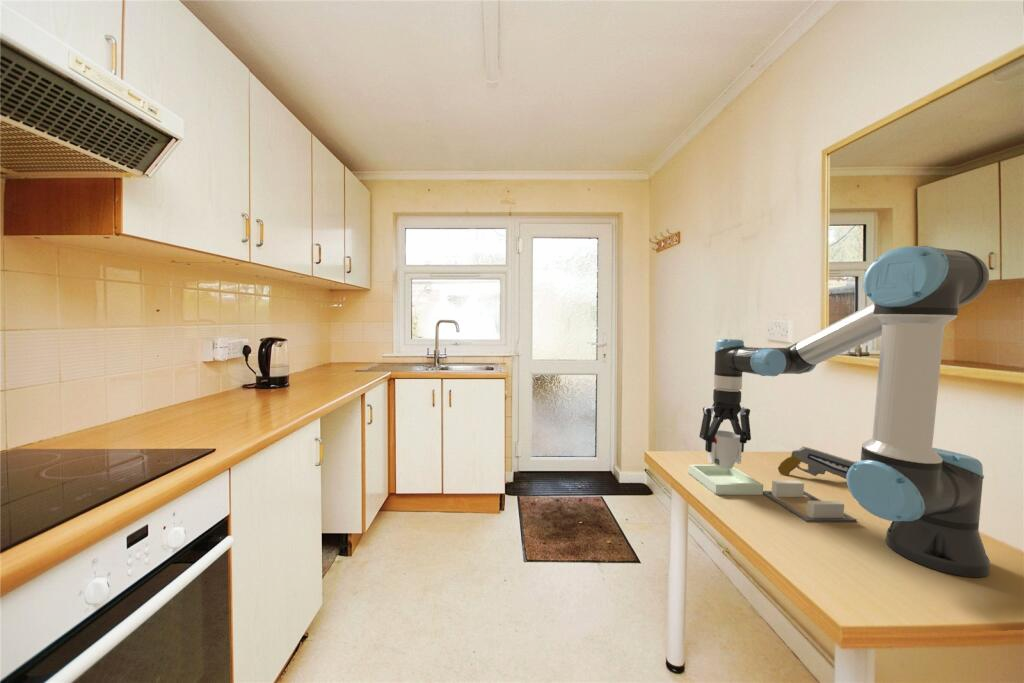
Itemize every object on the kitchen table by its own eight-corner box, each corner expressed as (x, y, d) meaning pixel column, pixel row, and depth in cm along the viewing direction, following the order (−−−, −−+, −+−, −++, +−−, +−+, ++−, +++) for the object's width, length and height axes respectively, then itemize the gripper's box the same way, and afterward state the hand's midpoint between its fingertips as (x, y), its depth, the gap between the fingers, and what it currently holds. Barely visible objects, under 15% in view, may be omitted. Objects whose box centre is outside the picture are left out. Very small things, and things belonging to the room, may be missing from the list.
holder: (856, 521, 99) (857, 506, 98) (806, 521, 98) (807, 506, 98) (803, 492, 116) (804, 479, 115) (760, 492, 115) (761, 479, 115)
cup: (708, 459, 126) (710, 428, 126) (737, 463, 123) (739, 432, 122) (709, 467, 119) (710, 435, 119) (739, 472, 116) (741, 439, 115)
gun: (862, 513, 121) (888, 472, 119) (777, 473, 129) (799, 433, 126) (857, 509, 124) (882, 469, 122) (774, 469, 132) (796, 431, 129)
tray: (762, 494, 113) (763, 484, 113) (715, 494, 113) (716, 484, 113) (729, 473, 129) (730, 464, 129) (688, 473, 129) (688, 464, 129)
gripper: (751, 387, 124) (748, 458, 125) (688, 386, 123) (685, 457, 124) (768, 391, 117) (764, 466, 118) (701, 390, 116) (697, 466, 117)
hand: (723, 462), depth 121 cm, fingers closed on cup, 8 cm apart
